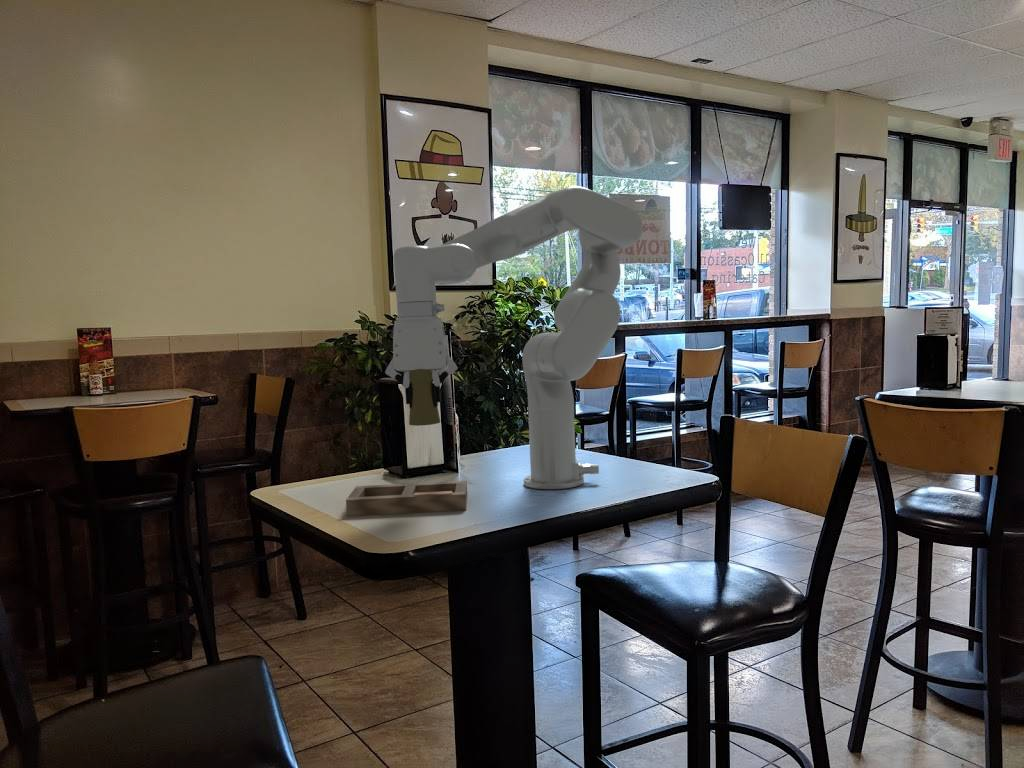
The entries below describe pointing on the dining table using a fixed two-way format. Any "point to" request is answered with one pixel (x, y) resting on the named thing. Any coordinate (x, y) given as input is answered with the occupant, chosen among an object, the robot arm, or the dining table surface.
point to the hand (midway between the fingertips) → (423, 406)
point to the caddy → (407, 498)
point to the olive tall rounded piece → (422, 399)
